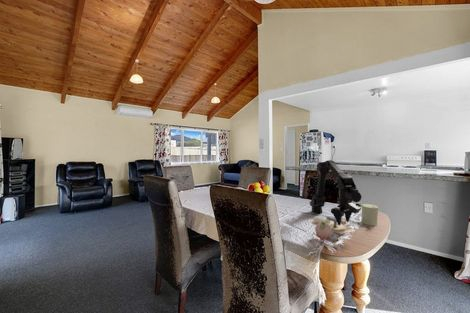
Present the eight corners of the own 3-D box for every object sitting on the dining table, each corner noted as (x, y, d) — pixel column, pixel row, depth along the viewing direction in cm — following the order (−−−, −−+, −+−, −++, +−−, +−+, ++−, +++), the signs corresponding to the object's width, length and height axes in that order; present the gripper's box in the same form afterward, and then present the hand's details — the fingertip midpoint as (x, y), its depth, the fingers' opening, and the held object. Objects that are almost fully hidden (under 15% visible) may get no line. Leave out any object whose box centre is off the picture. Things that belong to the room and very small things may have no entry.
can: (369, 226, 140) (370, 207, 139) (357, 221, 149) (358, 203, 148) (380, 224, 142) (381, 206, 141) (368, 219, 151) (369, 202, 150)
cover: (313, 221, 143) (313, 216, 143) (319, 219, 146) (319, 215, 146) (324, 225, 136) (325, 220, 136) (330, 223, 140) (330, 218, 140)
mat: (292, 226, 138) (292, 225, 138) (302, 222, 144) (302, 222, 144) (305, 231, 130) (305, 231, 130) (315, 227, 136) (315, 227, 136)
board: (308, 224, 141) (308, 222, 141) (321, 220, 150) (321, 217, 149) (341, 236, 124) (341, 234, 124) (354, 231, 132) (354, 228, 132)
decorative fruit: (332, 244, 114) (333, 226, 114) (315, 242, 116) (316, 224, 116) (329, 237, 123) (330, 219, 123) (314, 235, 125) (315, 218, 125)
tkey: (325, 224, 138) (326, 217, 137) (327, 223, 139) (328, 216, 139) (343, 230, 129) (344, 222, 128) (345, 229, 130) (346, 221, 130)
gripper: (350, 203, 117) (349, 231, 118) (366, 198, 127) (365, 224, 129) (330, 198, 126) (329, 225, 127) (347, 194, 137) (346, 218, 138)
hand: (343, 223), depth 130 cm, fingers open, 9 cm apart
